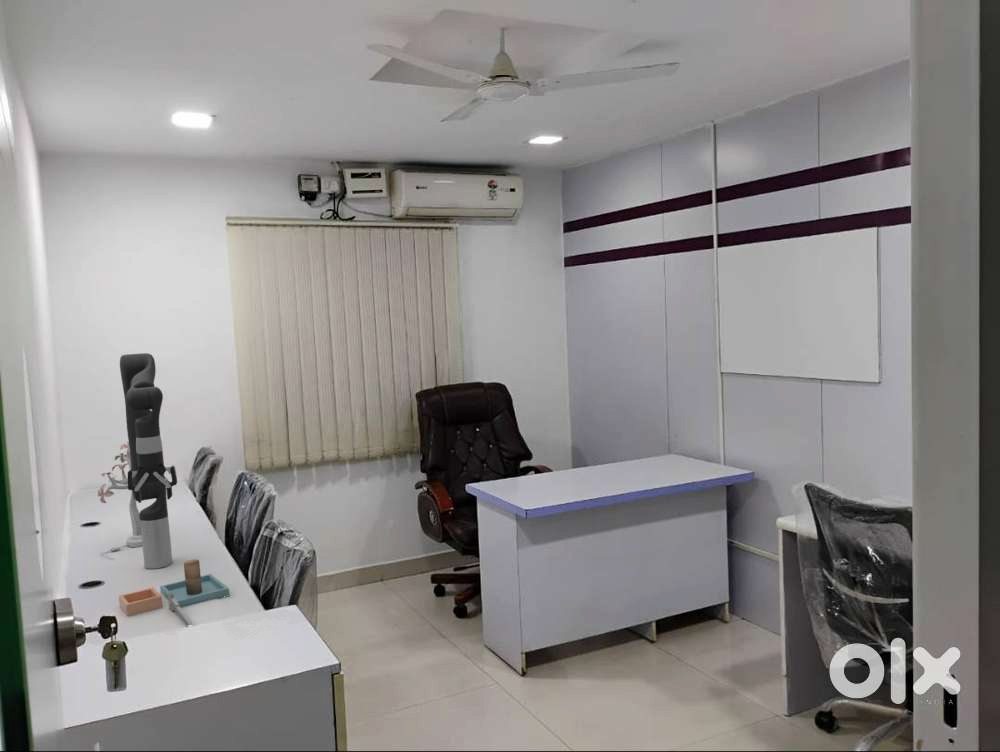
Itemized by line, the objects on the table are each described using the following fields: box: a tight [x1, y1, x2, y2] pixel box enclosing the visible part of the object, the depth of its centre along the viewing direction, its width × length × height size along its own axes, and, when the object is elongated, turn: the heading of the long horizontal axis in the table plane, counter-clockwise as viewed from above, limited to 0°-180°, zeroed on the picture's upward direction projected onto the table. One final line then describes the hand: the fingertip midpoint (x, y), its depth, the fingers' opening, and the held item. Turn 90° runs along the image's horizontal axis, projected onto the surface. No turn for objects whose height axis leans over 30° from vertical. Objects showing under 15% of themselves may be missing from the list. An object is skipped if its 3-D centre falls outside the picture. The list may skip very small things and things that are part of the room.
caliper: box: [167, 592, 194, 626], centre depth 237 cm, size 20×1×6 cm, turn 39°
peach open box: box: [118, 587, 163, 617], centre depth 247 cm, size 10×10×4 cm
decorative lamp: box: [97, 441, 143, 560], centre depth 311 cm, size 28×24×40 cm
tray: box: [159, 573, 230, 608], centre depth 257 cm, size 18×16×2 cm
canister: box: [183, 558, 202, 595], centre depth 256 cm, size 5×5×10 cm
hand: (154, 500), depth 257 cm, fingers open, 8 cm apart
